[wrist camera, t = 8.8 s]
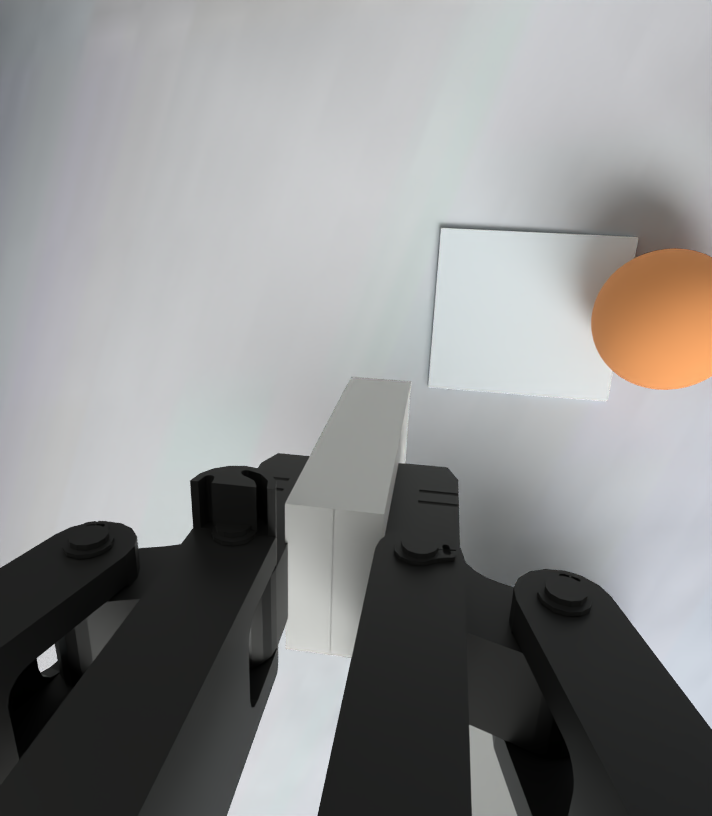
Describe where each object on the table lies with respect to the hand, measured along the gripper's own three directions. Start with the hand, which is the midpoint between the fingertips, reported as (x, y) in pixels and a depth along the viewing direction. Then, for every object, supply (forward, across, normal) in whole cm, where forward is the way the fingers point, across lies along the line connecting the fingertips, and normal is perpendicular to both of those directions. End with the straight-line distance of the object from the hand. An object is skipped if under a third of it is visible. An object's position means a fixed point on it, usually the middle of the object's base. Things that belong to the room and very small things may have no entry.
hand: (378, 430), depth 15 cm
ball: (+13, -11, -1) cm, 17 cm away
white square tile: (+16, -6, 0) cm, 17 cm away
